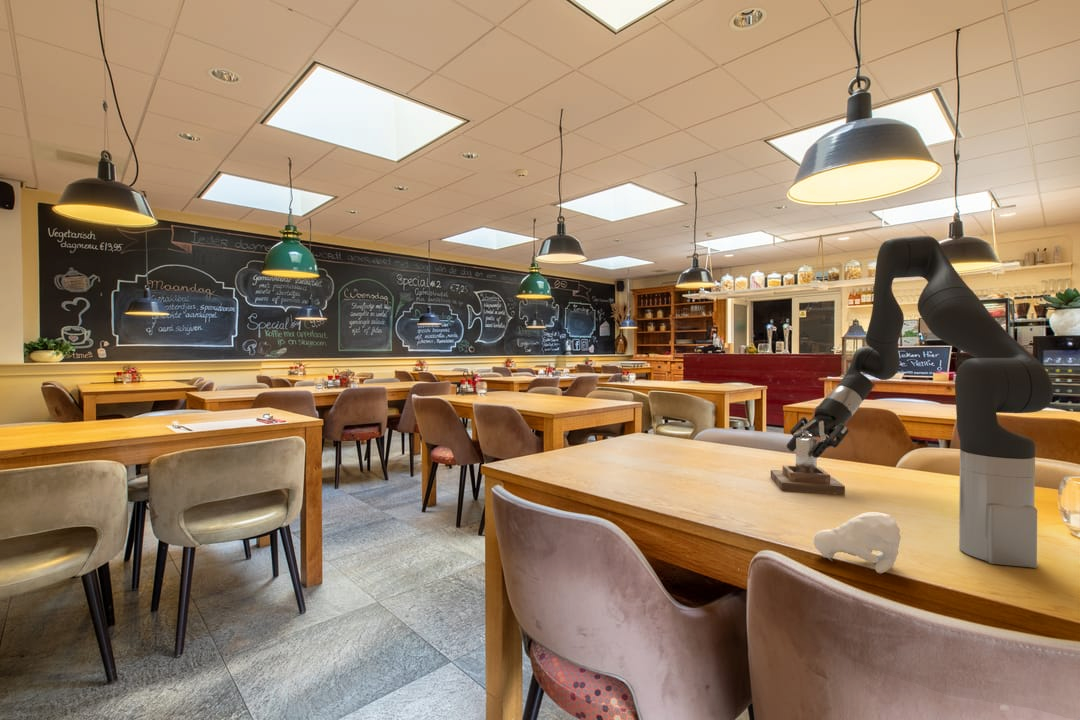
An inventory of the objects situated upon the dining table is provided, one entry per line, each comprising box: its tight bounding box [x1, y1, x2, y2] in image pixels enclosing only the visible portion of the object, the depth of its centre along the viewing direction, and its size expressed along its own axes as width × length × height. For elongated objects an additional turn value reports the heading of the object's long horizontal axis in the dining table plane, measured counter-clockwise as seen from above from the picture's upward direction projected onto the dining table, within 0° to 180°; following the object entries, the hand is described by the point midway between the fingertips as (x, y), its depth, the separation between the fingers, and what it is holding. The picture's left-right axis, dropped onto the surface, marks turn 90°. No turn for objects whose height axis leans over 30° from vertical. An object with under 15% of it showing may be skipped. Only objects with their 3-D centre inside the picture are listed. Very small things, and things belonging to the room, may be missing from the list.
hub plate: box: [770, 464, 846, 495], centre depth 126 cm, size 14×14×4 cm
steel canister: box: [795, 437, 818, 473], centre depth 126 cm, size 5×5×10 cm
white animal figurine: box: [813, 511, 902, 574], centre depth 79 cm, size 6×8×12 cm
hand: (800, 452), depth 126 cm, fingers open, 8 cm apart
